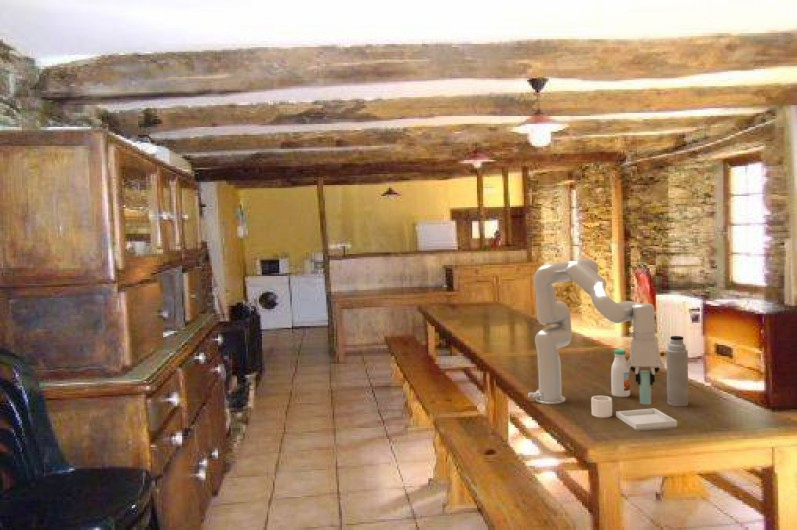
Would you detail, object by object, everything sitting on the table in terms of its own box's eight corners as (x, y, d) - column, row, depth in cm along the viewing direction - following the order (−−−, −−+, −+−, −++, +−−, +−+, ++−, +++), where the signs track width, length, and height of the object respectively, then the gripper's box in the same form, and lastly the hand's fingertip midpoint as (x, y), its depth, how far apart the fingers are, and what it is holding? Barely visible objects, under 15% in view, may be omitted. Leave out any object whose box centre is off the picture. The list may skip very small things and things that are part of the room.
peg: (643, 404, 241) (642, 373, 240) (637, 401, 245) (637, 370, 244) (653, 404, 241) (652, 372, 241) (647, 401, 245) (647, 370, 244)
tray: (636, 431, 235) (635, 424, 235) (616, 417, 251) (616, 411, 251) (677, 427, 237) (677, 420, 237) (654, 414, 253) (654, 408, 252)
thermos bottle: (664, 401, 269) (662, 335, 267) (682, 400, 269) (681, 334, 267) (672, 406, 261) (671, 338, 259) (692, 405, 261) (691, 337, 259)
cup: (596, 419, 250) (596, 401, 249) (588, 413, 258) (588, 396, 257) (615, 417, 251) (615, 400, 250) (607, 412, 259) (606, 394, 258)
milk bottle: (618, 398, 277) (617, 352, 275) (608, 393, 284) (606, 349, 283) (633, 396, 279) (633, 350, 277) (623, 391, 286) (622, 347, 285)
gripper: (620, 337, 240) (621, 385, 242) (668, 338, 235) (669, 387, 236) (620, 334, 248) (621, 380, 249) (667, 334, 242) (668, 382, 244)
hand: (645, 383), depth 243 cm, fingers closed on peg, 4 cm apart
